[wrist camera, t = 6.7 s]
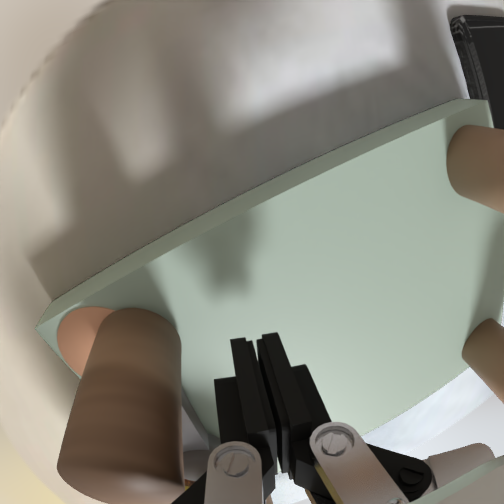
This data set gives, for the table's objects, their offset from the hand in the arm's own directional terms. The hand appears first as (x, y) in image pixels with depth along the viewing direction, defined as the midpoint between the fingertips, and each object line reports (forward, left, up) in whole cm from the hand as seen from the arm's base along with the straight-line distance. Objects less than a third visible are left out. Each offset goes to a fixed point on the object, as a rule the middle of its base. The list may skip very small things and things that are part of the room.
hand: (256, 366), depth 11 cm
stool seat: (-3, +5, -5) cm, 8 cm away
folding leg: (+5, +2, -2) cm, 6 cm away
